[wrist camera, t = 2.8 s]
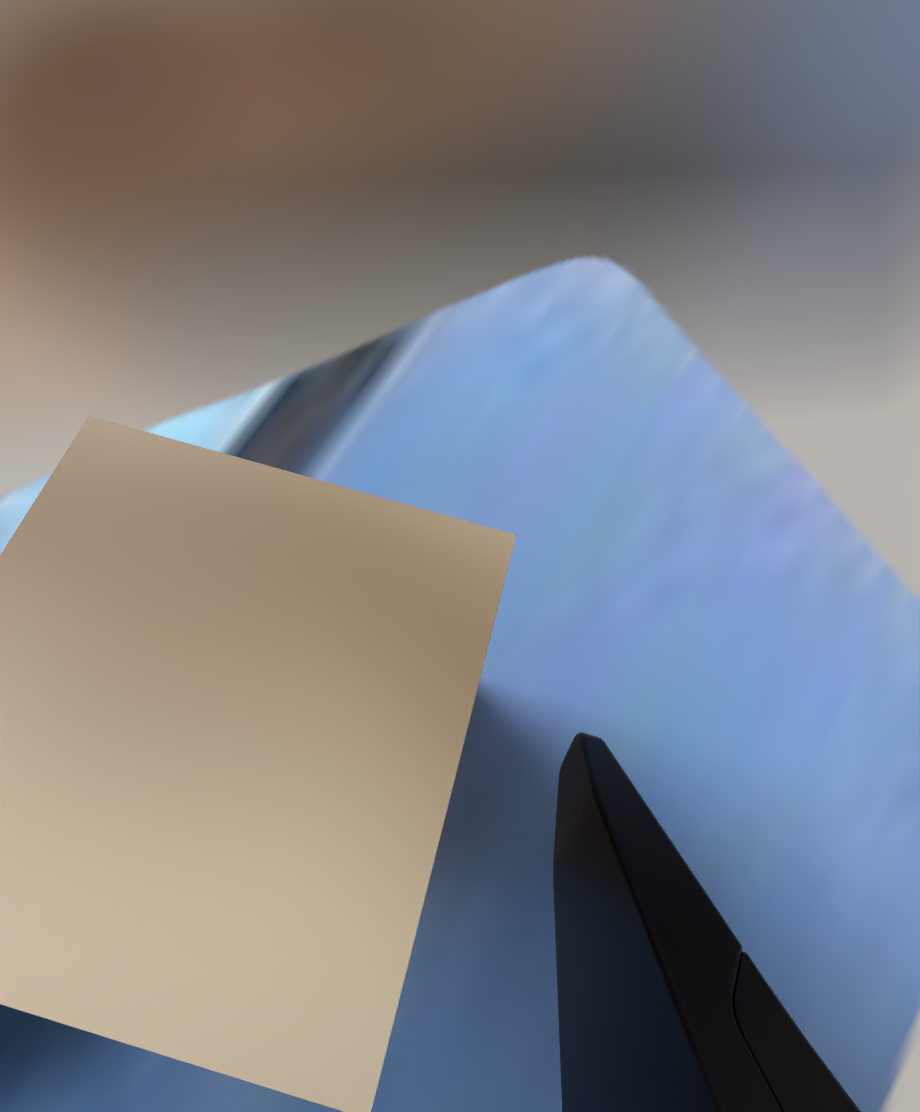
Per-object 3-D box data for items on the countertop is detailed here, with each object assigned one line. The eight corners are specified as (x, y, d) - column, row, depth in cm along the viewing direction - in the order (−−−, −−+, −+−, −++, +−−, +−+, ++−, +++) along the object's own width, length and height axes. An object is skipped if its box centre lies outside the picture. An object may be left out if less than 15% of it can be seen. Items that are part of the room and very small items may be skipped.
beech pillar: (412, 814, 15) (369, 1118, 3) (270, 772, 15) (-239, 929, 3) (452, 667, 16) (516, 534, 5) (323, 630, 16) (88, 416, 5)
